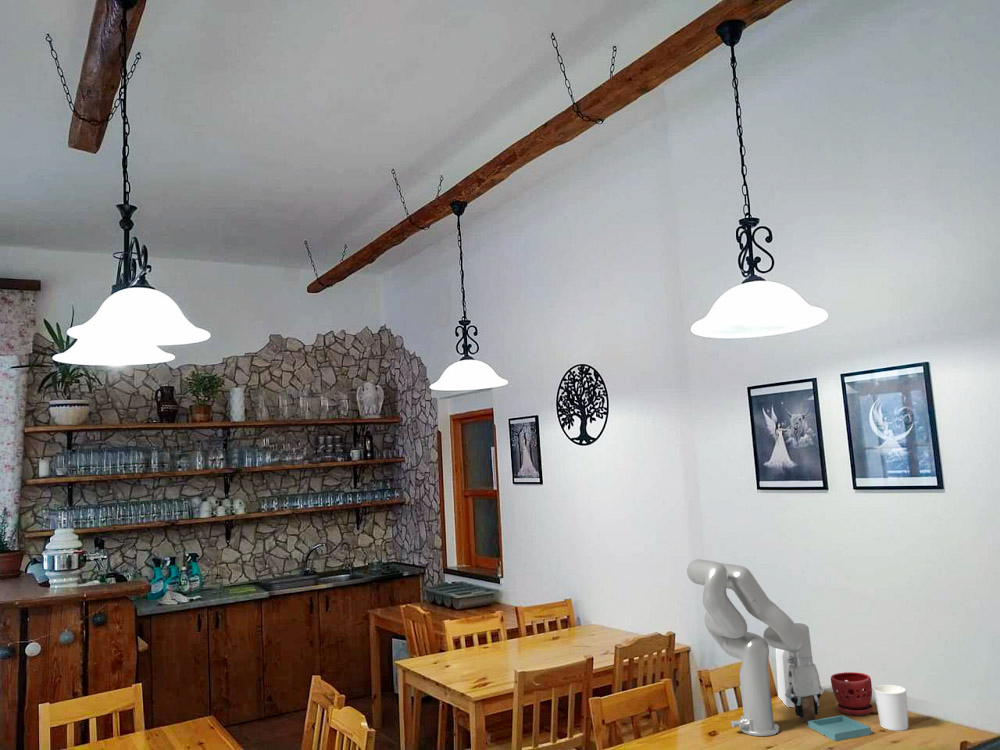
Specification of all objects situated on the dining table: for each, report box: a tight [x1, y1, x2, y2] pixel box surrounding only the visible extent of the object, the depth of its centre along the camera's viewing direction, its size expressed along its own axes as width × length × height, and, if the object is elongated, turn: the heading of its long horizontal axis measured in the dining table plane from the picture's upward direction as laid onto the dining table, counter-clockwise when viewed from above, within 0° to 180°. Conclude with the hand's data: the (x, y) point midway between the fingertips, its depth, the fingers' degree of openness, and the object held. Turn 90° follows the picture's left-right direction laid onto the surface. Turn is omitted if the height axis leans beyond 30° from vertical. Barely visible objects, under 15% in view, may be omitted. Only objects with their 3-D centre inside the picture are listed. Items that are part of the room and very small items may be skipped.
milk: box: [775, 648, 820, 707], centre depth 288 cm, size 12×12×26 cm
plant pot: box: [830, 671, 874, 716], centre depth 274 cm, size 13×13×12 cm
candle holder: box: [872, 684, 909, 732], centre depth 256 cm, size 10×10×12 cm
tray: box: [807, 714, 872, 742], centre depth 255 cm, size 14×14×2 cm
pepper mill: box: [798, 696, 817, 723], centre depth 269 cm, size 5×5×10 cm
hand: (807, 714), depth 268 cm, fingers closed on pepper mill, 5 cm apart
